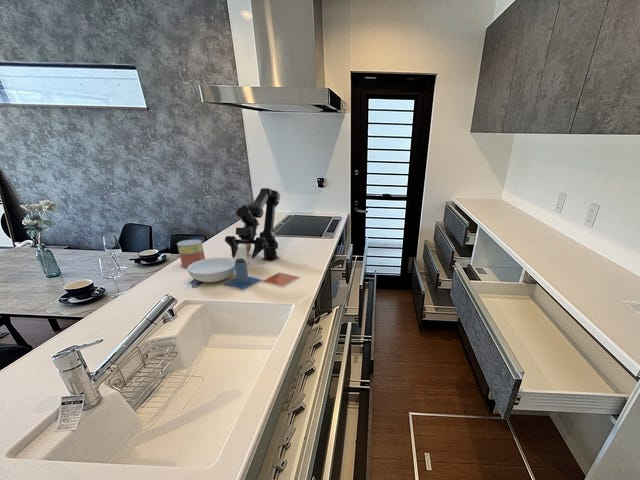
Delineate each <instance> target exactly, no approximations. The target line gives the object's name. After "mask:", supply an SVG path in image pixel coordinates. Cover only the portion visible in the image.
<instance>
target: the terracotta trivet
mask: <svg viewBox="0 0 640 480" xmlns="http://www.w3.org/2000/svg"><path fill="white" fill-rule="evenodd" d="M298 278H299V276H296V275H293V274H292V275H291V274H287V273H282V272H278V273H275V274H273V275H272V276H270V277H268V278H266V279H264V280H263V282H264V283H268V284H272V285H276V286H280V287H284V286H286V285H288V284H290V283H291V282H293V281H294V280H297V279H298Z"/></svg>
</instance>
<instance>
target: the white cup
mask: <svg viewBox="0 0 640 480" xmlns="http://www.w3.org/2000/svg"><path fill="white" fill-rule="evenodd" d="M229 248H230V249H231V246H229ZM230 252H231V254H232V251H231V250H230ZM232 259H233V260H235V261H236V259H244V260H245V261H246V264H247V265H248V254H247V247H246V245H245V244H238V250H237V252H236V255H235V257H234V258H233V257H232Z"/></svg>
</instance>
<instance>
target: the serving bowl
mask: <svg viewBox="0 0 640 480" xmlns="http://www.w3.org/2000/svg"><path fill="white" fill-rule="evenodd" d="M234 262H235V260H233V258H230V257H209V258H205V259H203V260H200V261H196V262H194V263H192V264H190V265H189V266H188V268H186V269H187V272H188V275H190V277H191V278H193V280H196V281H198V282H203V283H214V282H221V281H224V280H226V279H228V278H230V277H231V276H233V275H234V273H236V271H235V265H234Z"/></svg>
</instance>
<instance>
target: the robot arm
mask: <svg viewBox="0 0 640 480" xmlns="http://www.w3.org/2000/svg"><path fill="white" fill-rule="evenodd" d="M280 200H281V193H280V192H279V191H278V190H273V189H271V188H268V187H262V188H260V190H259V193H258V195H257V196H256V198H255V199H254V201H253V202H251V203H249V204H248V205H247V204H242V205H241V207H239V208H238V209H237V210H236V212H235V213H236V216H237V217H238V218H239V220H240V221H241V222H242V223H243V224H244V225H243V227H235V235H236V236H238V238H237V237H236V236H234V235H226V236H225V237H224V238H225V239H224V242H225V244H227V245H228V246H229V247H230V246H231V248H230V252H231V251H232V253H231V258H232V259H233V258H234V257H235V255H236V252H237V250H238V244H239V243H242V244H251V245H253V246H254V247H253V250H252V255H251V259H252V260H255V258H256V257H257V256H258V255H259V253H261V251H263V257H262V258H261V259H262V260H265V261H269V262H272V261H274V260H277V259H279V256H278V254H277V250H278V249H279V243H278V241H277V240H276V236H275V234H274V224H275V214H276V208H277V206H278V205H279V203H280ZM265 205H266V207H265ZM264 207H265V215H264ZM263 215H264V224H263V230H262V231H261V232H259V236H257V234H258V233H257V229H258V226H260V222H259V220H258V219H261V218H263Z"/></svg>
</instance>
